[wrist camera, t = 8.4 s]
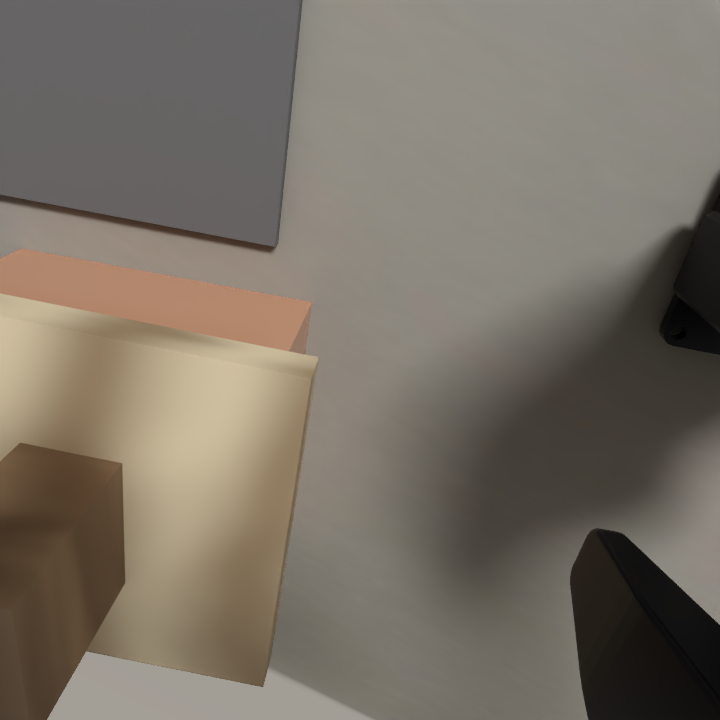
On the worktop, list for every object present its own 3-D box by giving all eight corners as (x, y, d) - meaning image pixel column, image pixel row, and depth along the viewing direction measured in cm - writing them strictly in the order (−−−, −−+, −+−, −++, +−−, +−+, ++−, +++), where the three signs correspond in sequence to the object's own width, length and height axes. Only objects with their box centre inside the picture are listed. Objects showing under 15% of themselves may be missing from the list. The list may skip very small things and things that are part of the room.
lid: (318, 357, 16) (263, 514, 10) (270, 656, 22) (219, 857, 16) (-146, 264, 16) (-455, 369, 10) (-65, 588, 22) (-231, 765, 16)
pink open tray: (312, 300, 21) (277, 376, 16) (284, 518, 26) (250, 632, 21) (25, 246, 21) (-105, 305, 16) (52, 474, 26) (-41, 576, 21)
